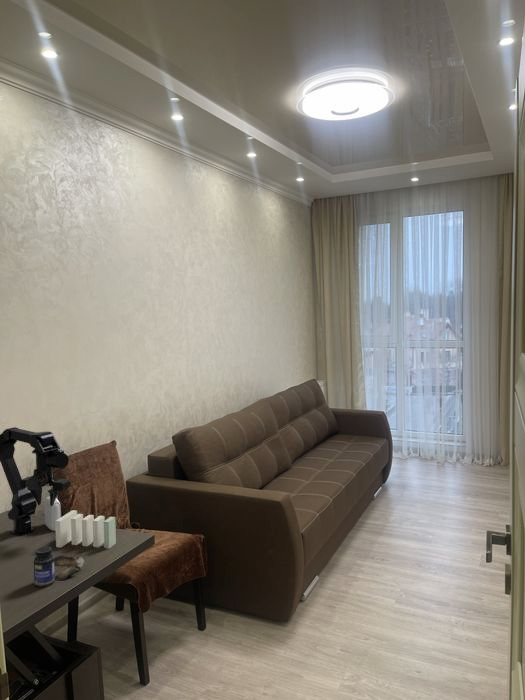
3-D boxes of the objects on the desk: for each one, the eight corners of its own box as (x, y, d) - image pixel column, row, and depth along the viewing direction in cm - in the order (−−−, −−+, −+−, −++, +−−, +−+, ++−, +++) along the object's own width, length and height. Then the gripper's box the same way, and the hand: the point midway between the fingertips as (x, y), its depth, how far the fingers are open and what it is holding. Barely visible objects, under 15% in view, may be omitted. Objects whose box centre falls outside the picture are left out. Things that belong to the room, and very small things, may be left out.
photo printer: (43, 524, 218) (42, 495, 217) (54, 522, 221) (53, 492, 220) (51, 532, 210) (50, 501, 210) (62, 529, 213) (61, 499, 212)
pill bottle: (32, 588, 166) (31, 554, 166) (36, 579, 172) (34, 546, 172) (53, 586, 168) (52, 552, 167) (56, 577, 174) (55, 544, 173)
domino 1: (56, 547, 197) (55, 520, 196) (73, 535, 208) (72, 510, 207) (60, 547, 196) (60, 521, 196) (77, 535, 207) (77, 510, 206)
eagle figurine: (71, 561, 182) (47, 566, 175) (80, 547, 180) (56, 551, 173) (80, 579, 178) (56, 585, 171) (89, 565, 176) (65, 570, 169)
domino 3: (82, 545, 198) (81, 519, 197) (89, 540, 203) (89, 514, 202) (87, 546, 197) (86, 520, 197) (94, 540, 202) (93, 515, 201)
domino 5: (104, 548, 196) (103, 521, 195) (111, 542, 200) (110, 516, 200) (109, 548, 195) (108, 522, 195) (115, 542, 200) (115, 517, 199)
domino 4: (93, 547, 197) (92, 520, 196) (100, 541, 202) (99, 515, 201) (98, 547, 196) (97, 521, 196) (105, 541, 201) (104, 516, 200)
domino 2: (71, 544, 199) (70, 518, 198) (79, 539, 204) (78, 513, 203) (76, 545, 198) (75, 519, 198) (83, 539, 203) (83, 514, 202)
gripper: (8, 469, 197) (10, 511, 198) (52, 472, 193) (54, 514, 194) (28, 461, 208) (29, 500, 209) (70, 464, 203) (71, 504, 204)
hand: (45, 505), depth 204 cm, fingers open, 5 cm apart
